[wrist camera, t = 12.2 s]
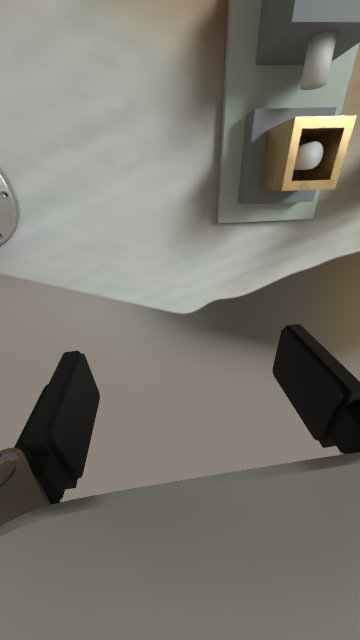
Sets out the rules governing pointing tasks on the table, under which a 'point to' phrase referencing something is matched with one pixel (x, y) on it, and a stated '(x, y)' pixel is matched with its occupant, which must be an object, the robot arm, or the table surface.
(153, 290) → the table surface
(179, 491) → the robot arm
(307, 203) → the coupling rig
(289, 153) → the hollow wooden square tube
